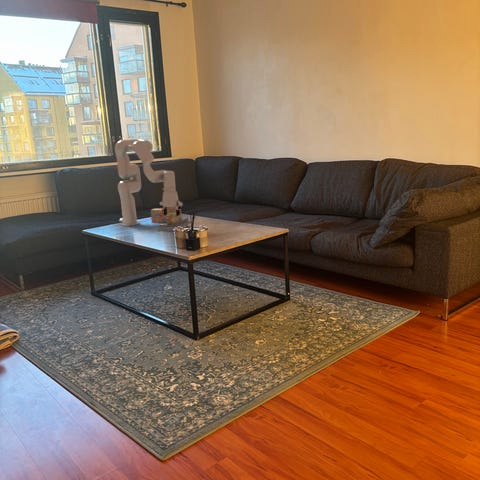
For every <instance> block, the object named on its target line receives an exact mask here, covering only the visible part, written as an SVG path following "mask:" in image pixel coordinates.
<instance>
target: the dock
mask: <svg viewBox="0 0 480 480" xmlns="http://www.w3.org/2000/svg"><path fill="white" fill-rule="evenodd" d="M174 224H175V225H167V222H165V223H164V224H158V225H157V229H158V231H167V232H169V231H170V232H171V231H172V232H173V229H174V228H175V227H178V226H181V227H184V226H187V227H189V226H188V225H189V217H185V218H182V220H180V221H177V222H175V223H174Z"/></svg>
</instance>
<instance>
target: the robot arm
mask: <svg viewBox="0 0 480 480" xmlns="http://www.w3.org/2000/svg"><path fill="white" fill-rule="evenodd" d="M153 149H154V148H153V144H152V142H151V141H150V140H148V139H139V138H134V139H133V138H132V139H122V140H119V141H117V142H116V144H115V145H114V152H115V157H116V163H117V172H118V177H120V178H121V179H124V180H121V181H119V183H118V184H117V190H118V194H119V197H120V204H121V214H122V217H121V218H119V222H121V226H124V227H129V226H131V227H132V226H135V225H139V224H140V221H138V219H137V211H136V202H135V201H136V200H135V197H134V196H133V193H138V192H140V191H141V189H142V179H141V177H142V176H141V171H140V167H139V166H138V165H137V164H136V163H131V162H130V157H129V154H127V153H133V152H134V153H135V154H136V156H137V157H138V158H139V160H140V161H141V162H142V168H143V174H144V176H146V178H147V179H148V180H149V182H150V183H154V184H155V183H163V188H162V191H163V192H162V200H161V201H160V202H159V205H160V208H161V209H163V212H164V215H167V209H166V208H167V207H175V208H176V209H177V210H176V215H177V216H179V215H180V208H181V209H182V207H183V204H184V203H183V202H181V201H180V200H179V196H178V191H177V190H176V176H175V175H176V174H175V172H174V171H173V170H165V169H159V170H154V169H153V168H152V166H151V163H152V162H154V159H155V156H154V155H153V153H152V151H153ZM125 179H126V180H125ZM179 204H180V206H179Z"/></svg>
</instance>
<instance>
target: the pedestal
mask: <svg viewBox="0 0 480 480" xmlns="http://www.w3.org/2000/svg"><path fill="white" fill-rule="evenodd" d="M177 221H179V217H178V216H177V215H176V213H170V214H167V222H166V223H167V225H175V224H174V223H175V222H177Z"/></svg>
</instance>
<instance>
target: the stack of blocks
mask: <svg viewBox="0 0 480 480" xmlns="http://www.w3.org/2000/svg"><path fill="white" fill-rule="evenodd" d="M179 206H180V204H179ZM166 209H167V214H170V213H176V210H177V209H176V208H175V207H167V208H166ZM178 217H179V221H180V220H182V219H183V217H182V207H181V208H180V215H179V216H178ZM150 220H151V223H167V215H164V212H163V209H162V208H152V209H150Z"/></svg>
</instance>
